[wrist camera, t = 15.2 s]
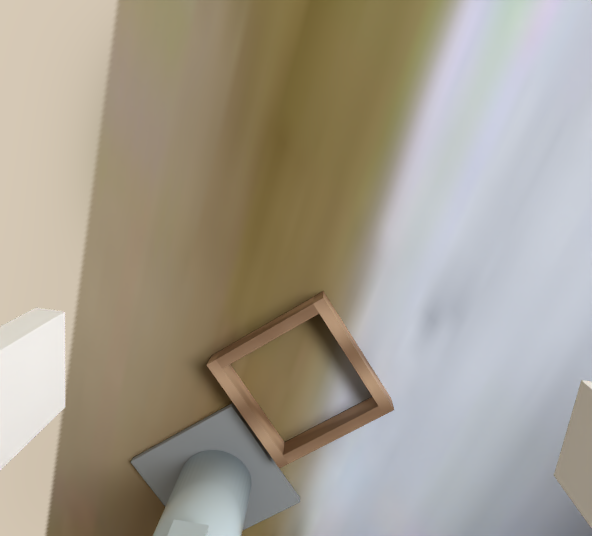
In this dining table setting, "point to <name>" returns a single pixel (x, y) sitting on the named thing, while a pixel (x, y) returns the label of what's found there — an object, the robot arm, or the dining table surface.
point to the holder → (322, 432)
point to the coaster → (229, 438)
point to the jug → (208, 497)
